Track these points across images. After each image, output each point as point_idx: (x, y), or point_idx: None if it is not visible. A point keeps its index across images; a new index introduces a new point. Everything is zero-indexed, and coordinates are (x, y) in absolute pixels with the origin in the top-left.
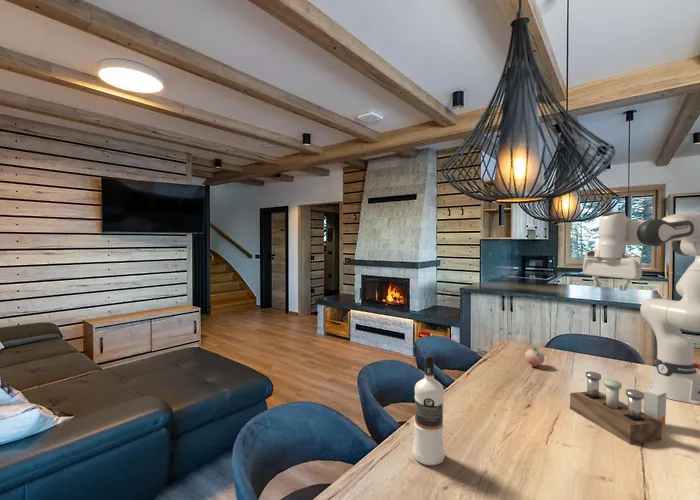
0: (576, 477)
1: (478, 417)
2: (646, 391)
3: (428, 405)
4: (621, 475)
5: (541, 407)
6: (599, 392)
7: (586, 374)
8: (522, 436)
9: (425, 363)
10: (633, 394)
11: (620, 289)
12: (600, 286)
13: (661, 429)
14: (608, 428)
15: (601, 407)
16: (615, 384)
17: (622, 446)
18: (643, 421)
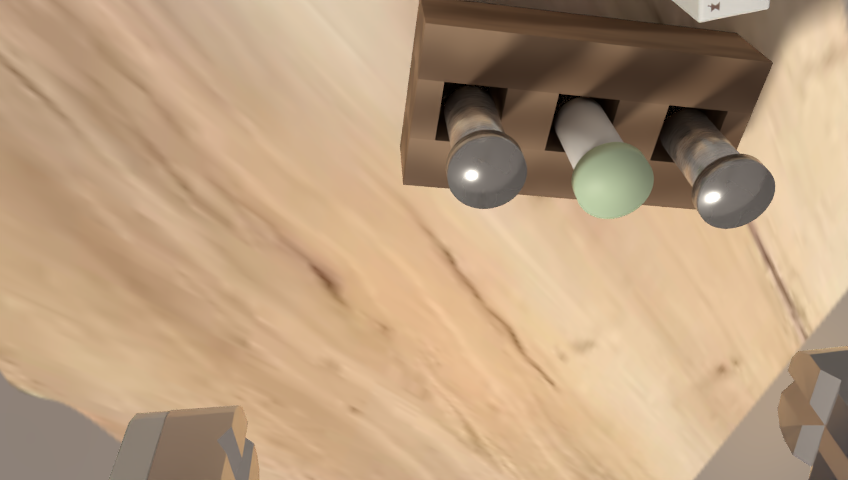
0: (686, 415)
1: (358, 456)
2: (709, 16)
3: None
4: (744, 327)
5: (354, 245)
6: (448, 36)
7: (468, 203)
8: (497, 414)
9: None
10: (742, 223)
11: (797, 430)
12: (240, 429)
13: (756, 50)
14: None
15: (568, 181)
16: (637, 197)
17: None
18: (726, 135)
